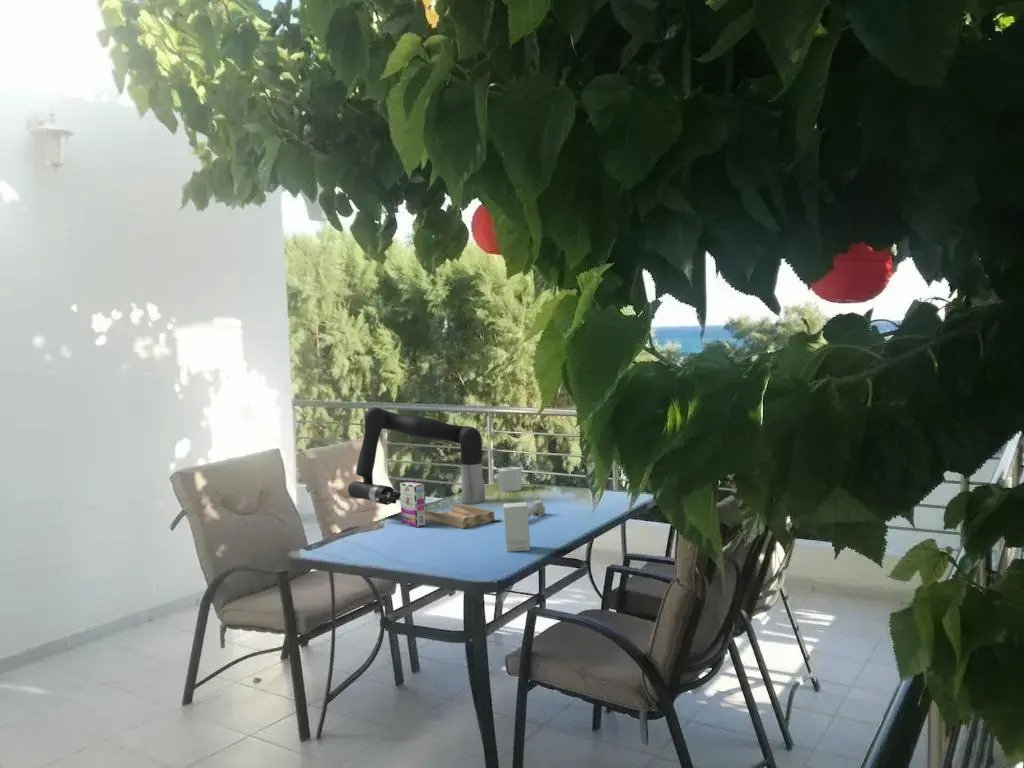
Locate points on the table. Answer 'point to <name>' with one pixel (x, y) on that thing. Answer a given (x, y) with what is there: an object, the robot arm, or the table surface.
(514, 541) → the skincare box
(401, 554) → the table surface
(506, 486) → the toilet tissue
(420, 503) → the candy bar box
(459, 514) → the tray
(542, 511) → the grey long piece
